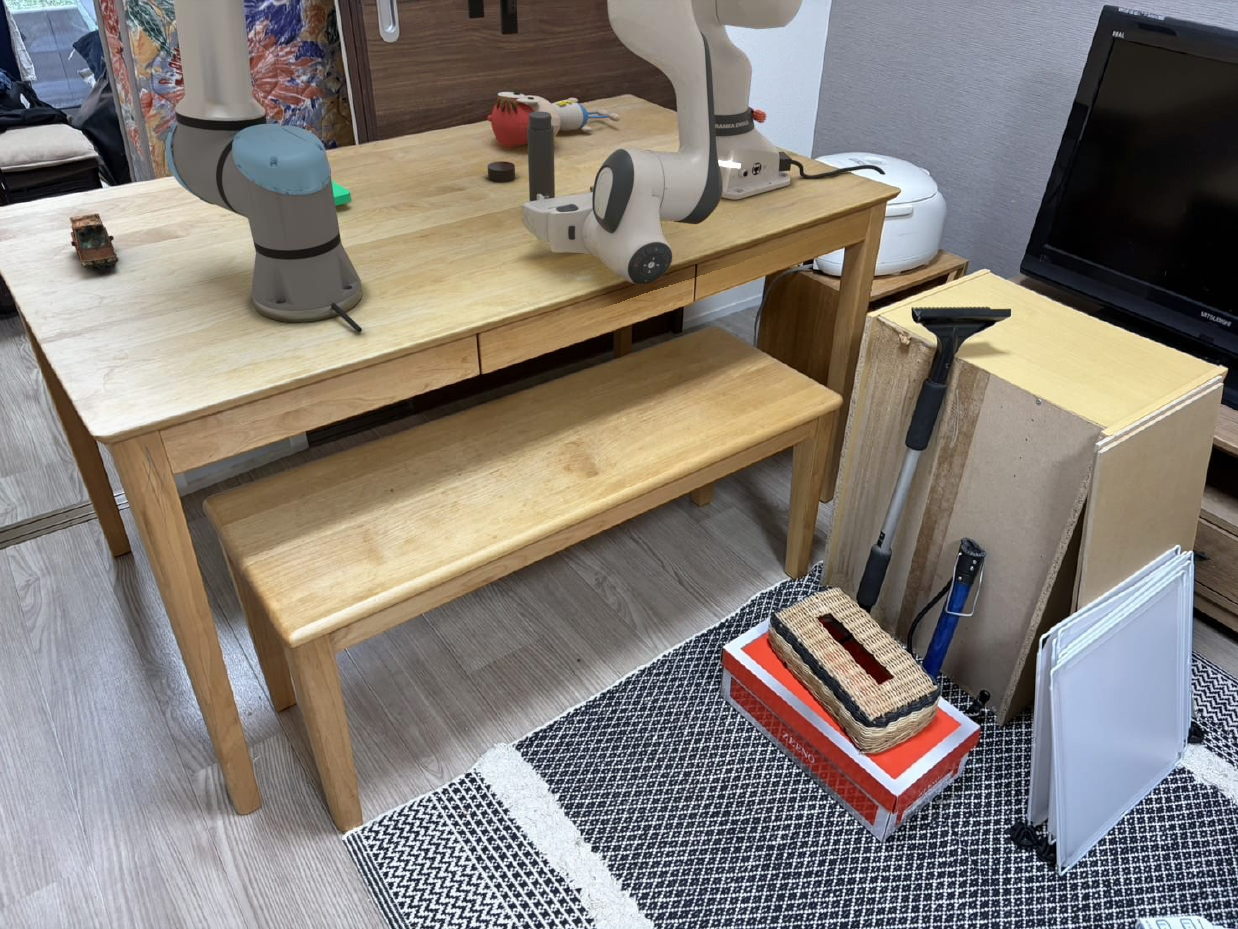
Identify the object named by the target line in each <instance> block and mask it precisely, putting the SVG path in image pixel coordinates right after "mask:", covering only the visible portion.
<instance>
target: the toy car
mask: <svg viewBox="0 0 1238 929" xmlns="http://www.w3.org/2000/svg"><path fill="white" fill-rule="evenodd" d="M69 221H70V224H71V226H70V227H71V230H72V231H71V232H70V236H71V241H70V243H71V244H70V245H71V246H72V247H74V248H75V252H76V254H77V257H79V258H80V259H79V262H81V267H82V268H84V269H85V268H86V269H92V268H99V271H100V273H101V274H105V273H106V269H105V267H111V266H113V265H115V264H117V263H118V262H119V261H120V260H119V258H118V255H117V253H116V252H115V248H114V244H113V242H112V241H114V240H115V238H114V235H109V232H108V230H107V228H106V226H105V225H104V224H103V221H102V219H101V217H100V214H99V213H89V214H84V215H76V216H71V217H69Z"/></svg>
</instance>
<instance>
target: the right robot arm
mask: <svg viewBox="0 0 1238 929" xmlns="http://www.w3.org/2000/svg"><path fill="white" fill-rule="evenodd" d="M606 2H607V4H606V5H607V15H608V16H607V17H608V21H609V24H610V28H611V29H612V30H613V32H614V34H615V36H616V37H617V39H618V40H619V41H620V42H621V43H622V44H623V46H625V47H626V48H627V49H628V50H629V51H631V52H632V53H633V54H634V55H636V56H638V57H640V58H642V59H643V60H645V61H647V62H648V63H650V64H652V65H653V66H655V67H656V68H657V69H658V70H660V71H661V72H662V73H663V74H664V75H665V76H666V77H667V78H668V79H669V81H670V83H671V84H672V87H673V89H674V92H675V99H676V112H677V126H678V128H677V129H678V140H679V147H678V150H677V151H662V150H661V151H659V150H650V149H633V148H631V149H630V148H629V149H628V148H624V149H623V148H619V149H616V150H615V151H613V152H612V153H611V154H610V155H608V156H607V158H606V159H605V160H604V162H603V163H602V165H601V166H600V168H598V169H599V170H598V171H597V173H596V175H595V178H594V182H593V185H592V186H589V192H585V193H578V194H577V193H576V194H570V195H565V196H558V197H557V196H556V197H555V198H550V199H549V195H547V194H546V193H543V194H537V200H536V201H530V200H529V201H525V202H524V204H522V209H521V211H522V214H521V215H522V224H523V226H524V228H525V229H526V230H527V231H528V232H529V233H530V234H531V235H533V236H534V237H535V238H536V239H538V240H539V241H541V242H543V243H548V247H549V250H550V251H552V252H553V253H573V254H574V253H577V254H584V255H591V256H595V257H596V258H598V259H600V262H602V264H603V265H604V266H605V267H606V268H607V269H609V270H610V271H611V272H612V273H613V274H615V275H616V276H617V277H619V278H620V279H622V280H624V281H626V282H628V283H630V284H632V285H633V284H634V285H647V284H651V283H654V282H655V281H657V280H659V279H661V278H662V277H663V276H664V275H665V274H666V273H667V272H668V271H669V269H670V267H671V265H672V262H673V258H674V257H673V250H672V247H671V245H670V243H669V242H668V241H667V239H666V237H665V235H664V233H663V228H662V224H661V222H674V223H679V224H686V225H687V224H688V225H699V224H701V223H703V222H705V221H706V219H708V218H709V217H710V216H711V215H712V214H713V213H714V212H715V210H716V209H717V207H718V206H719V204H720V202H721V200H722V198H724V199H728V200H736V201H737V200H741V199H744V198H748V197H752V196H755V195H759V194H762V193H766V192H769V191H774V190H776V189H780V188H784V187H787V186H789V185H791V177H790V175H789V174H788V173H787V172H790V171H791V168H792V165H794V166H796V167H798V169H799V176H800V177H801V178H803V179H806V180H817V179H822V178H827V177H834V176H836V175H840V174H843V173H847V172H854V171H855V172H856V171H860V170H873V171H875V172H877V173H879V174H880V175H882V176H884V175H886V172H885V171H884V170H883V169H882V168H881V167H879V166H878V165H874V164H862V165H861V164H860V165H855V166H849V167H841V168H838V169H835V170H832V171H828V172H822V173H818V174H812V175H811V174H807V173H805V172H804V165H803V164H802V162H800V161H798V160H795V159H793V158H792V157H791V156H790V155H789V154H787V153H786V152H785V151H779V150H778V148H777V147H776V145H775V144H774V143H772V141H770V140H769V139H768V138H767V137H766V136H765V135H764V134H762V133H761V132H760V131H759V130H758V129H757V128H756V127H755V122H757V123H758V124H764V123H765V122H766V120H767V114H766V112H765V111H762V110H760V109H754V108H752V107H751V106H749V104H750V95H751V84H752V75H753V67H752V64H751V61H750V58H749V57H748V55H747V54H746V53H745V52H744V51H743V50H742V49H741V48H739V47H737V45H735V43H734V42H733V41H732V40H731V39H730V37H729V35H728V32H727V29H726V26H729V27H735V28H743V29H752V30H768V29H778V28H785V27H786V26H788V25H789V24H790V23H791V22H792V21H793V20H794V19H795V17H796V16H797V14H798V13H799V11H800V9H801V6H802V3H803V0H607V1H606ZM754 121H755V122H754ZM870 289H871V292H872V291H873V288H870ZM867 312H868V310H867V311H866V314H868V313H867Z"/></svg>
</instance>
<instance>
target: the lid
mask: <svg viewBox="0 0 1238 929" xmlns="http://www.w3.org/2000/svg"><path fill="white" fill-rule="evenodd" d="M487 179H488V180H489V181H491V182H496V183H509V182H512V181H514V180H515V179H516V165H515V164H514V163H513V162H510V161H504V160H502V161H501V160H500V161H493V162H490V163H488V164H487Z"/></svg>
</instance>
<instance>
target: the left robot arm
mask: <svg viewBox="0 0 1238 929" xmlns="http://www.w3.org/2000/svg"><path fill="white" fill-rule="evenodd" d="M172 1H173V2H172V3H173V9H174V16H175V25H176V32H177V33H176V34H177V40H178V47H179V56H180V62H181V63H180V64H181V71H182V79H183V85H184V86H183V87H184V96H183V97H182V99H181V100H180V101H179V102H178V103H177V104H176V105H175V108H174V111H175V118H176V122H174V123H173V125H172V130H171V131H170V132H168V133H167V137H166V140H165V157H166V162H167V165H168V168H169V170H170V172H171V175H172V176H173V178H174V179H175V180H176V182H177V183H178V184H179V185H180V186H181V187H182V188H183V189H184V190H185V191H187V192H189V193H190V194H192V195H193V196H195V197H197V198H199V200H201V201H203V202H205V203H207V204H210V205H214V206H218V207H219V208H222V209H224V210H227V211H229V212H231V213H234V214H236V215H239V216H241V217H244V218H245V219H247V221H248V224H249V228H250V234H251V237H252V238H251V239H252V242H253V247H254V251H255V258H254V264H253V273H252V283H251V291H250V294H251V299H252V303H253V307H254V309H255V310H256V311H257V313H259V314H260V315H262V316H264V317H266V318H268V319H271V320H275V321H281V322H289V323H304V322H314V321H315V322H316V321H320V320H326V319H330V318H332V317H336V316H338V315H339V317H341V318H342V319H343V320H344V321H345V322H346V323H347V324H348V325H349V326H350V327H351V328H352V329H353V330H355V332H356V333H358V334H360V333H362V332H363V328H362V327H361V325H359V324H358V323H356V321H355V320H354V319H352V317H350V316H349V315H348V314H347V313H346V312H348V311H349V310H351V309H353V308H354V307H355V306H356V305H357V304H358V303H359V302H360V301H361V298H362V297H363V287H362V282H361V278H360V276H359V274H358V272H357V270H356V268H355V266H354V264H353V263H352V261H351V259H350V257H349V255H348V253H347V251H346V250H345V248H344V245H343V243H342V239H341V233H340V225H339V220H338V213H337V207H336V206H335V200H334V194H333V187H332V181H333V180H332V168H331V165H330V162H329V157H328V154H327V152H326V148H325V145H324V144H323V142H322V140H321V139H320V138H319V137H318V136H317V135H315V134H314V133H313V132H311V131H309V130H307V129H304V128H303V127H300V126H296V125H292V124H287V125H281V124H280V123H268V121H267V111H266V109H265V108H264V107H263V105H261V103H260V102H258V101H257V100H256V99H255V98H254V94H253V85H252V84H253V83H252V73H251V64H250V63H251V62H250V52H249V42H248V33H247V32H248V31H247V30H248V29H247V21H246V20H247V19H246V12H245V9H246V8H245V0H172ZM484 2H485V1H484V0H467V12H468V19H482V18H483V19H484V18H485V4H484ZM499 9H500V11H499V12H500V27H501V30H500V33H501V35H503V36H506V35H516V34H519V25H518V24H519V22H518V0H499Z"/></svg>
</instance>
